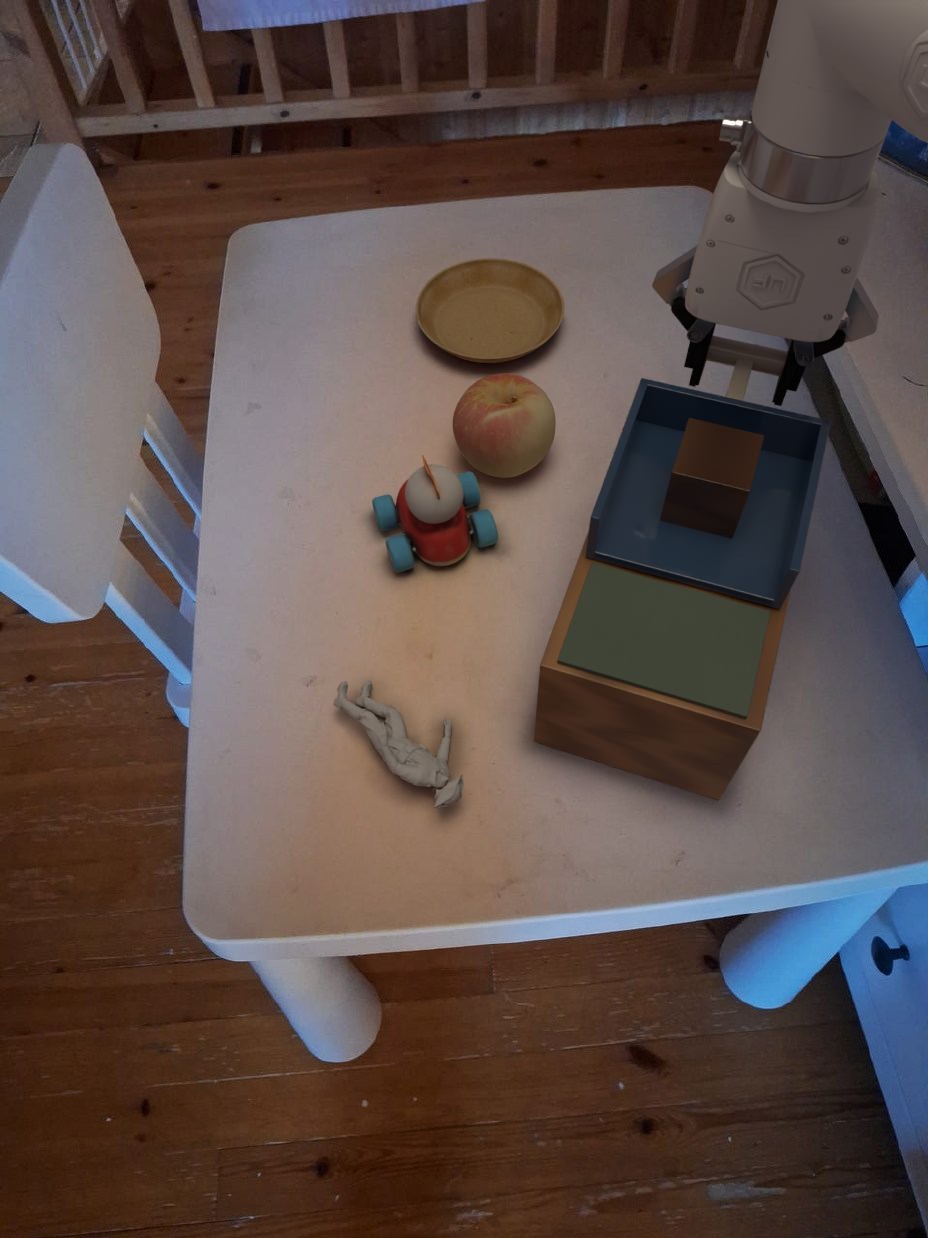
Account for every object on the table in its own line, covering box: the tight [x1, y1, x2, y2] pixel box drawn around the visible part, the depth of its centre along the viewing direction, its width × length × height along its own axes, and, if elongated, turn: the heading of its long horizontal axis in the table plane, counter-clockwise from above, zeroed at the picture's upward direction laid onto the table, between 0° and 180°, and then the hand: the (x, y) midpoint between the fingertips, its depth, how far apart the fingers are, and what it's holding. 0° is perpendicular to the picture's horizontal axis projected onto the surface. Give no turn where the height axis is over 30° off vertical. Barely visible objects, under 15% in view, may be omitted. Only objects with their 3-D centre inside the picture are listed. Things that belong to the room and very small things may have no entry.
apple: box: [452, 372, 557, 479], centre depth 79 cm, size 9×9×8 cm
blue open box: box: [585, 335, 832, 609], centre depth 63 cm, size 13×19×5 cm
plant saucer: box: [415, 257, 565, 364], centre depth 90 cm, size 15×15×3 cm
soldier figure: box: [333, 679, 465, 810], centre depth 66 cm, size 8×5×12 cm
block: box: [660, 418, 764, 539], centre depth 60 cm, size 5×5×5 cm
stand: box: [533, 530, 791, 801], centre depth 67 cm, size 14×23×12 cm, turn 160°
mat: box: [557, 563, 770, 719], centre depth 58 cm, size 12×8×1 cm, turn 70°
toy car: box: [371, 454, 499, 573], centre depth 74 cm, size 9×9×10 cm
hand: (738, 381), depth 68 cm, fingers closed on blue open box, 5 cm apart
